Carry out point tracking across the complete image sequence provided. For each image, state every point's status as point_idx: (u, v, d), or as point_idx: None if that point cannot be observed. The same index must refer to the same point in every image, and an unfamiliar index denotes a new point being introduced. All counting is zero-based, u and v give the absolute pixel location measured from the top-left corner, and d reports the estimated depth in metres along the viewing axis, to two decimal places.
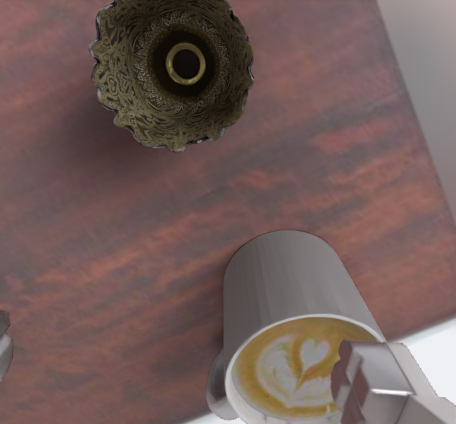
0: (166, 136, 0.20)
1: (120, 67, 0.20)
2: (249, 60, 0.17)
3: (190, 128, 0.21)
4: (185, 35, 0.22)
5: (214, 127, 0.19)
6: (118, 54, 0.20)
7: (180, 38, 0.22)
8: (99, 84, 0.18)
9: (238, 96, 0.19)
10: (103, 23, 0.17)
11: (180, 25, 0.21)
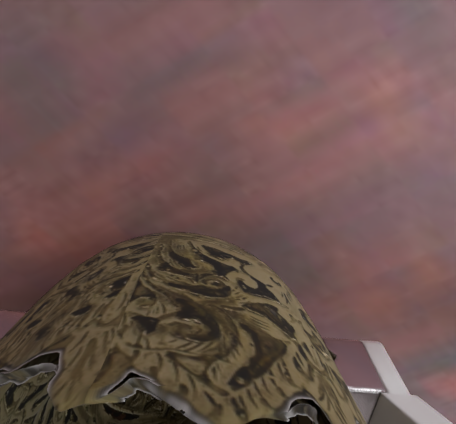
0: None
1: (25, 391, 0.08)
2: None
3: None
4: None
5: None
6: (10, 382, 0.07)
7: None
8: None
9: None
10: None
11: None
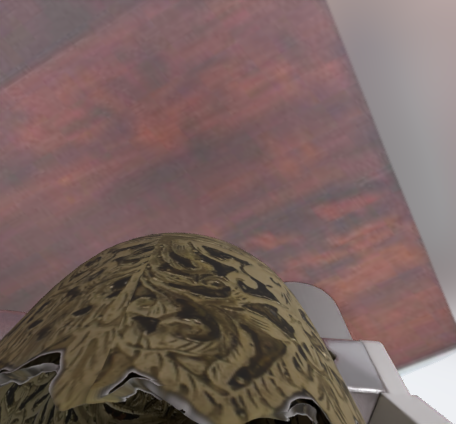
0: None
1: (25, 391, 0.08)
2: None
3: None
4: None
5: None
6: None
7: None
8: None
9: None
10: None
11: None
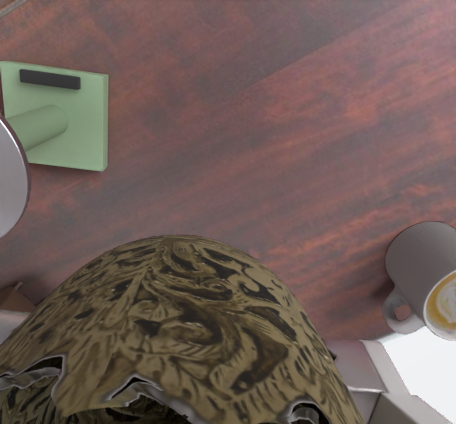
0: None
1: (26, 393, 0.08)
2: None
3: None
4: None
5: None
6: None
7: None
8: None
9: None
10: None
11: None
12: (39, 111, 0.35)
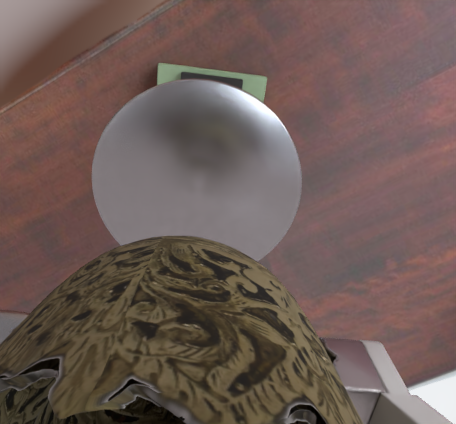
0: None
1: (25, 394, 0.08)
2: None
3: None
4: None
5: None
6: None
7: None
8: None
9: None
10: None
11: None
12: None
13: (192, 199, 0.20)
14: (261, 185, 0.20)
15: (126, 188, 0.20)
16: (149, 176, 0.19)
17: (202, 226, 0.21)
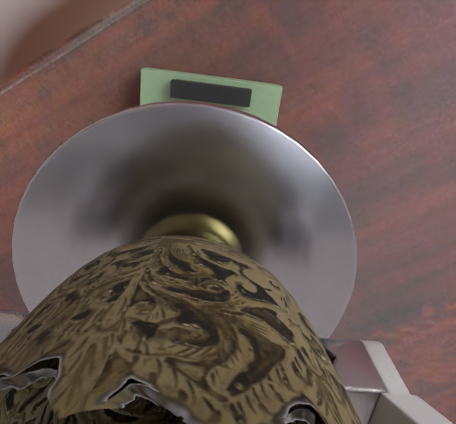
0: None
1: (25, 394, 0.08)
2: None
3: None
4: None
5: None
6: None
7: None
8: None
9: None
10: None
11: None
12: None
13: None
14: (291, 271, 0.12)
15: None
16: None
17: None
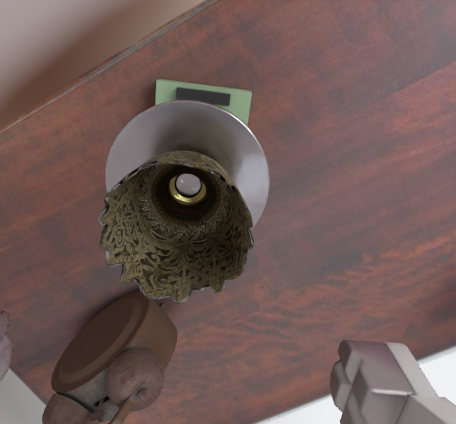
0: (170, 279, 0.21)
1: (126, 210, 0.21)
2: (249, 226, 0.18)
3: (193, 263, 0.22)
4: (187, 169, 0.23)
5: (216, 272, 0.20)
6: (124, 201, 0.21)
7: (183, 170, 0.23)
8: (107, 246, 0.19)
9: (239, 245, 0.20)
10: (111, 198, 0.18)
11: None
12: None
13: (183, 193, 0.25)
14: (238, 182, 0.25)
15: None
16: None
17: None
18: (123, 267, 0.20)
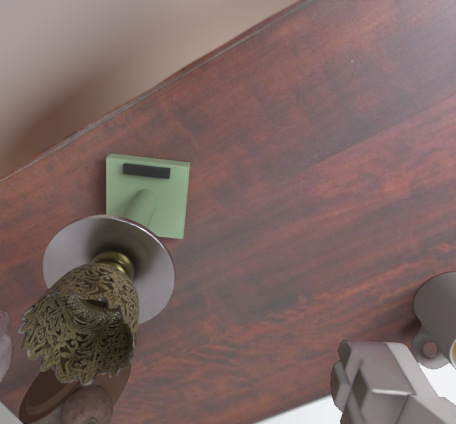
0: (82, 363, 0.27)
1: (50, 309, 0.28)
2: (131, 334, 0.25)
3: (104, 347, 0.29)
4: None
5: (116, 359, 0.27)
6: (47, 305, 0.27)
7: None
8: (28, 346, 0.25)
9: (131, 340, 0.27)
10: (28, 316, 0.24)
11: None
12: (143, 201, 0.44)
13: None
14: (148, 274, 0.32)
15: None
16: None
17: None
18: (43, 358, 0.26)
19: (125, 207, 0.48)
